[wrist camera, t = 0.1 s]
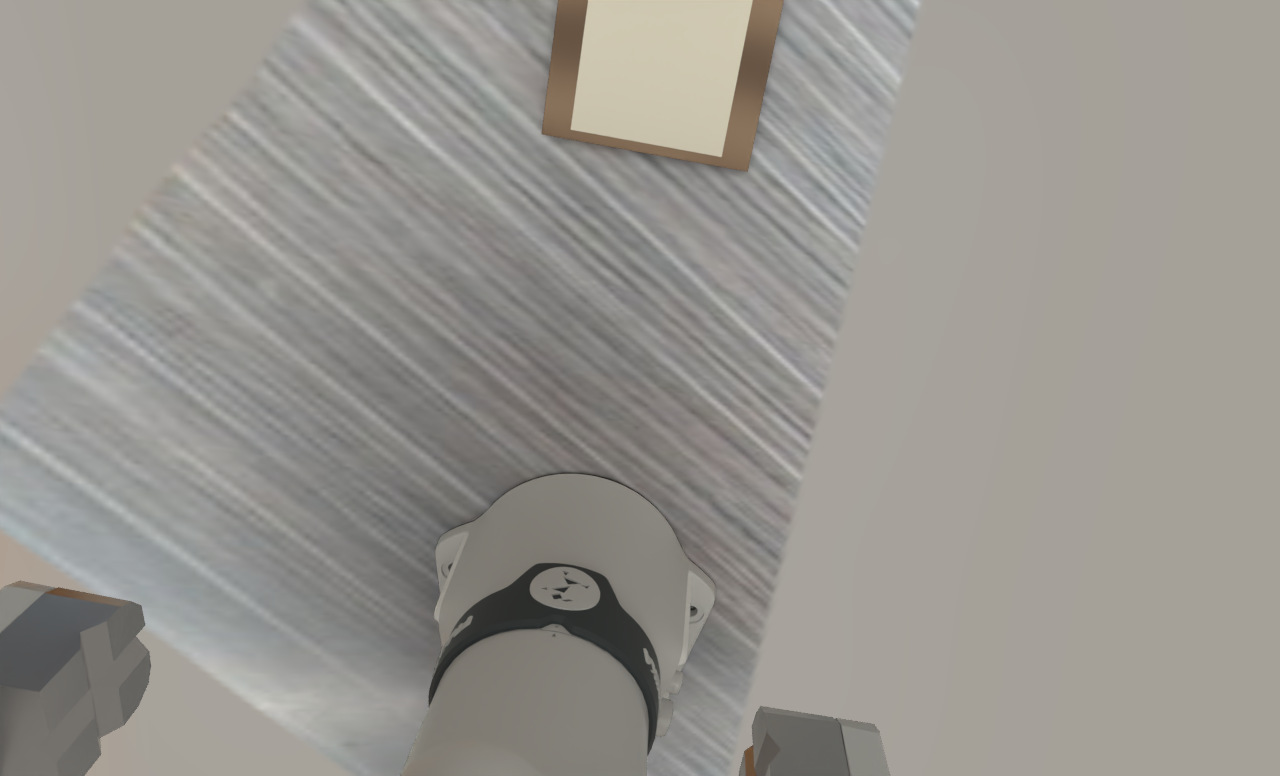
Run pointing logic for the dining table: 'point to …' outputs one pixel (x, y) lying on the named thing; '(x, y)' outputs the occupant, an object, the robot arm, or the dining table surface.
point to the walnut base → (662, 76)
